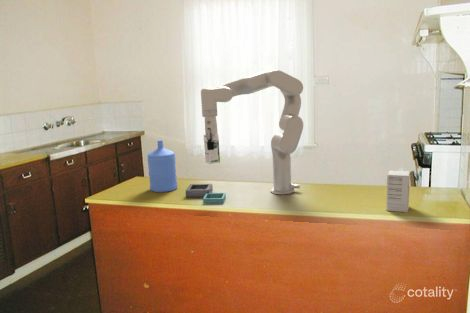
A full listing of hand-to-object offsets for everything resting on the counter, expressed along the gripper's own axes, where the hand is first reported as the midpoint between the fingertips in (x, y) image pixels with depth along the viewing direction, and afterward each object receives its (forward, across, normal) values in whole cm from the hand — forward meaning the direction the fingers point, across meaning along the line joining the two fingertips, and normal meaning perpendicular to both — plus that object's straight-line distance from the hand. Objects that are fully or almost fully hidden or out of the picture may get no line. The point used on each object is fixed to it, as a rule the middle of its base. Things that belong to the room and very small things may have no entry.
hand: (211, 148), depth 218 cm
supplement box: (+28, -17, -87) cm, 93 cm away
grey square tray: (+27, +12, +10) cm, 32 cm away
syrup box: (+8, 0, 0) cm, 8 cm away
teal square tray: (+28, 0, 0) cm, 28 cm away
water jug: (+28, +24, +33) cm, 49 cm away
